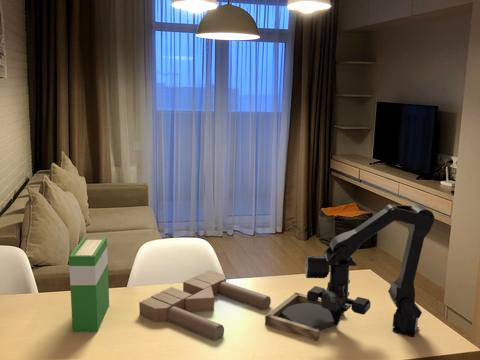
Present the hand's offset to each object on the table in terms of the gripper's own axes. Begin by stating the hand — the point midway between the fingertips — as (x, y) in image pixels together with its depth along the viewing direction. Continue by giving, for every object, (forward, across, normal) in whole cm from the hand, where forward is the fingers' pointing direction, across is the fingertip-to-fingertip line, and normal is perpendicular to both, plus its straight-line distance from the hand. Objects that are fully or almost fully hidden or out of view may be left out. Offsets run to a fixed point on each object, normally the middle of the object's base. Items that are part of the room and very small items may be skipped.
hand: (336, 325), depth 155 cm
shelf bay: (+1, -10, 0) cm, 10 cm away
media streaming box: (+1, -9, 0) cm, 10 cm away
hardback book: (+1, -67, -38) cm, 77 cm away
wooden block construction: (+2, -40, -12) cm, 42 cm away
